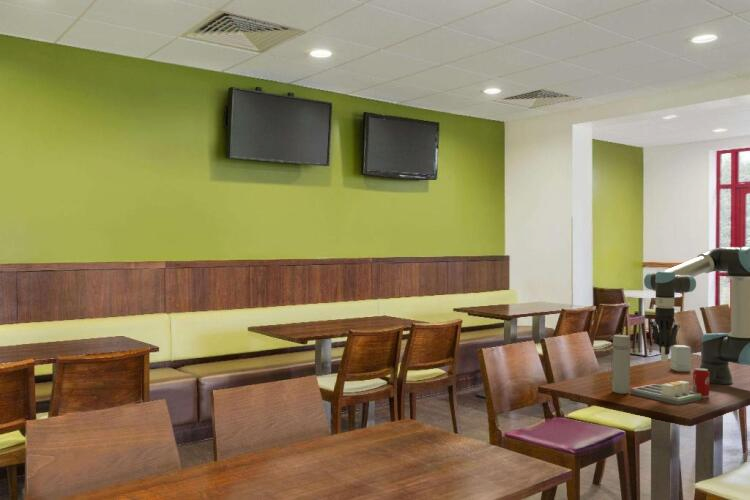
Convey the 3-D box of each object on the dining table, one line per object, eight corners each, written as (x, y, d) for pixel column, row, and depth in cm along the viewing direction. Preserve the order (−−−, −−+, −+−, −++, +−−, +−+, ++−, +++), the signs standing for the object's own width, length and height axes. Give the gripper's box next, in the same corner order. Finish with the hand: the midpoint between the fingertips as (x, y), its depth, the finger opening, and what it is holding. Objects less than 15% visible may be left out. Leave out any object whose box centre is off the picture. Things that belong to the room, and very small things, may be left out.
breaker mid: (673, 393, 279) (673, 381, 279) (682, 395, 275) (682, 383, 275) (668, 394, 277) (668, 382, 277) (676, 396, 273) (677, 384, 273)
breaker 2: (680, 392, 282) (680, 380, 282) (689, 394, 278) (689, 382, 278) (675, 393, 279) (675, 381, 279) (684, 395, 276) (684, 383, 276)
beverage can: (710, 398, 277) (711, 370, 277) (695, 397, 278) (695, 369, 278) (706, 395, 283) (707, 367, 283) (690, 394, 284) (691, 367, 284)
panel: (653, 389, 293) (653, 383, 293) (701, 399, 275) (701, 393, 275) (630, 393, 284) (630, 388, 284) (678, 404, 266) (678, 398, 266)
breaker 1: (666, 395, 276) (666, 383, 276) (675, 397, 272) (675, 385, 272) (661, 396, 273) (661, 384, 273) (670, 398, 270) (670, 386, 270)
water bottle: (630, 391, 289) (631, 335, 288) (629, 395, 282) (630, 337, 281) (608, 389, 293) (609, 333, 292) (606, 392, 285) (607, 336, 285)
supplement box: (690, 371, 336) (691, 347, 335) (676, 371, 336) (676, 347, 335) (684, 368, 343) (684, 344, 343) (670, 368, 343) (670, 344, 343)
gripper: (645, 306, 283) (645, 360, 284) (674, 309, 272) (673, 365, 273) (655, 305, 287) (655, 358, 288) (684, 307, 277) (683, 363, 277)
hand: (664, 361), depth 280 cm, fingers closed
